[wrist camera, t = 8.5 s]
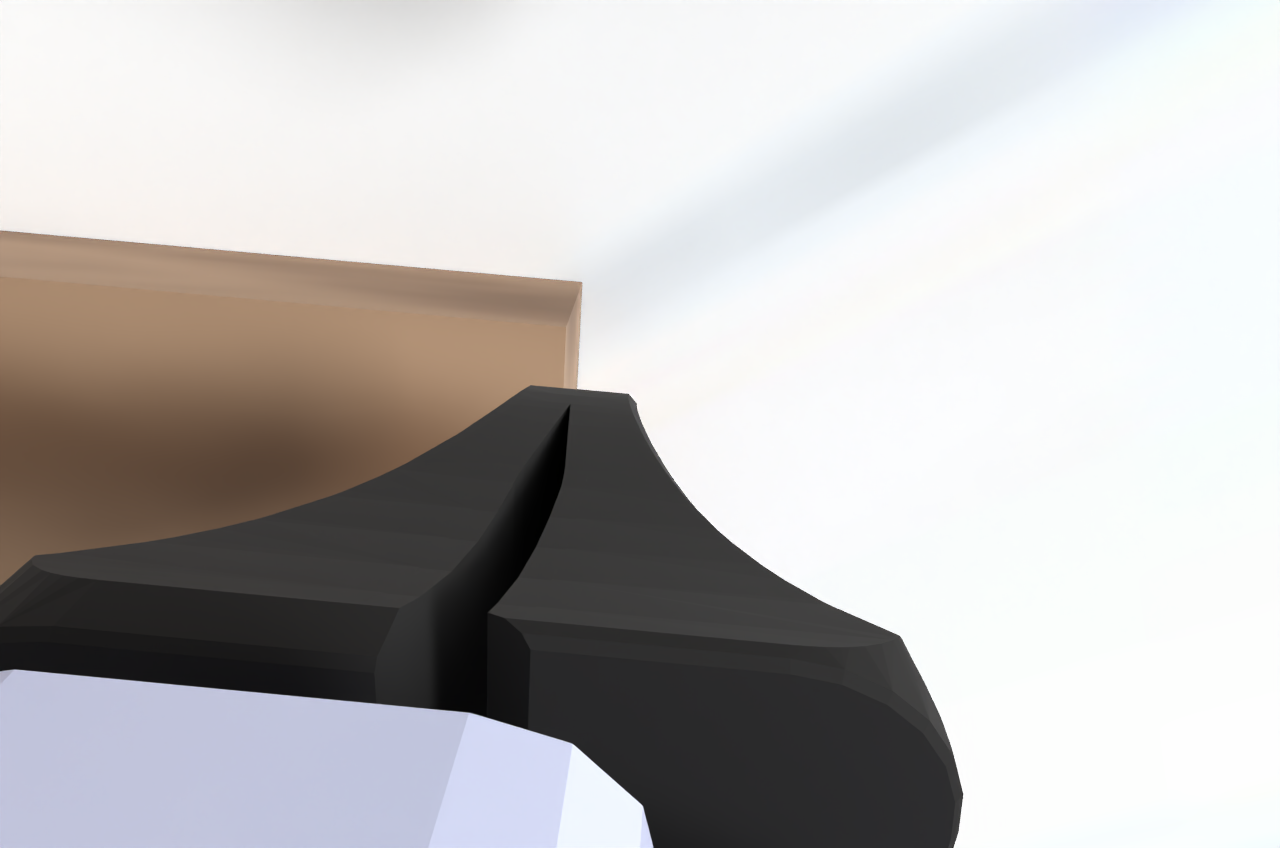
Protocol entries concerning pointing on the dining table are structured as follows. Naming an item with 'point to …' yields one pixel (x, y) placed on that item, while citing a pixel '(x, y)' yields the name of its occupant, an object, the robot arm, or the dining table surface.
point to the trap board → (239, 381)
